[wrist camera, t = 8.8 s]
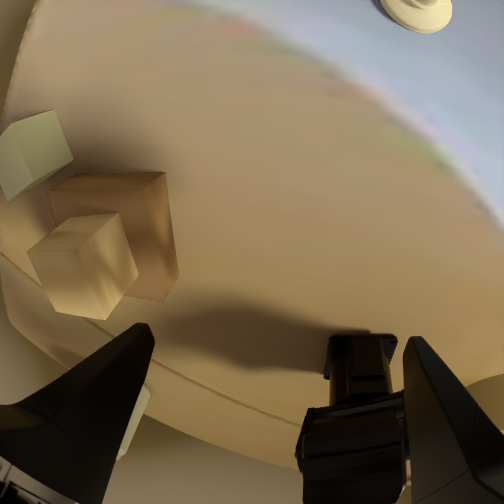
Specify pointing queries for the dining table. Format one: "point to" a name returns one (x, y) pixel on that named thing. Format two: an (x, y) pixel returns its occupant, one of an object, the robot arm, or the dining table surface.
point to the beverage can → (134, 420)
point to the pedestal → (128, 221)
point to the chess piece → (419, 13)
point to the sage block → (31, 153)
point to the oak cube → (85, 265)
